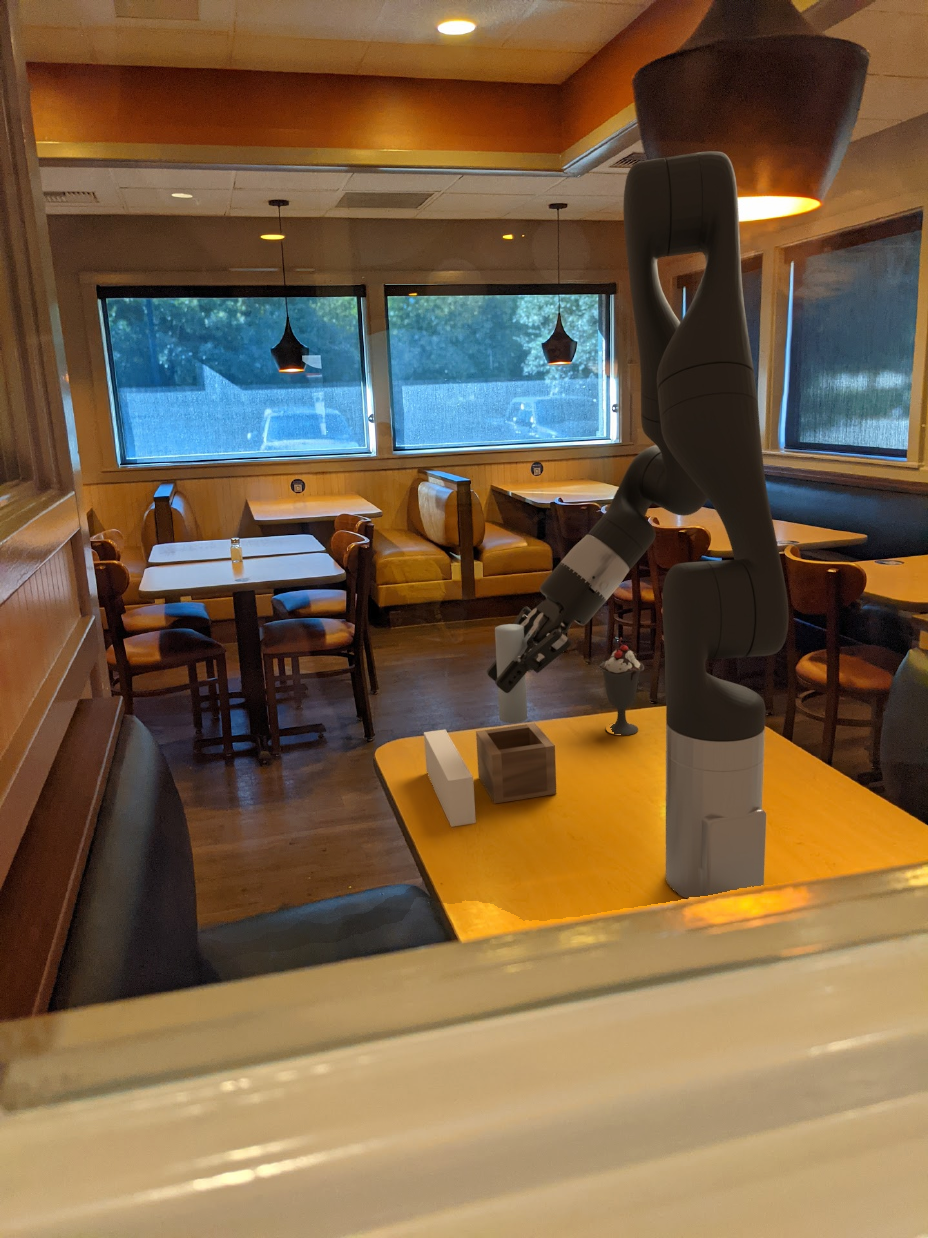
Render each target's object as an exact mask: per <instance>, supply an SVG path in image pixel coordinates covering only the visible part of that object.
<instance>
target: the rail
mask: <svg viewBox="0 0 928 1238" xmlns="http://www.w3.org/2000/svg"><path fill="white" fill-rule="evenodd" d="M423 741H424V752H425V753H424V755H425V768H426V769H425V770H426V773H427V772H428V775H429V777H430V779H431V781H430V783H431V782H432V784H431V786H432V785H433V786H432V788H433V787H434V788H433V790H434V792H435V795H436V796H437V799H438V800H439V803H440V805H441V808H442V809H443V812H444V814H445V816H446V819H447V820H448V823H449V826H450V827H451V828H453V827H458V826H465V825H471V824H472V825H473V824H476V823H477V821H476V809H475V808H476V803H475V790H474V789H475V787H474V776H473V774H472V772H471V771H470V769H469V768H468V766H467V764H466V763H465V761H464V759H463V757H462V755H461V754H460V752H459V750H458V749H457V747H456V746H455V744H454V742H453V740H452V738H451V737H450V735H449V733H448V732H447V729H437V730H431V731H424V732H423ZM428 775H427V776H428ZM429 777H428V778H429ZM430 779H429V780H430Z"/></svg>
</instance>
